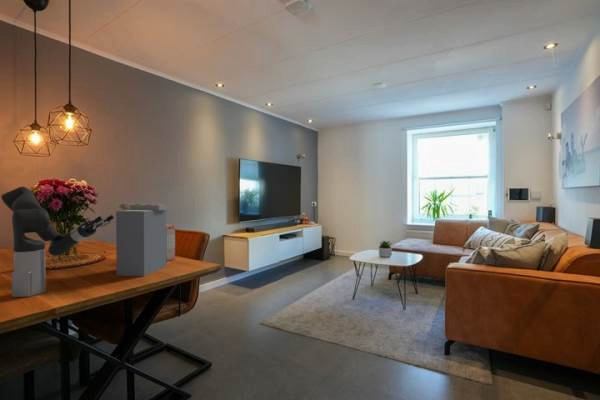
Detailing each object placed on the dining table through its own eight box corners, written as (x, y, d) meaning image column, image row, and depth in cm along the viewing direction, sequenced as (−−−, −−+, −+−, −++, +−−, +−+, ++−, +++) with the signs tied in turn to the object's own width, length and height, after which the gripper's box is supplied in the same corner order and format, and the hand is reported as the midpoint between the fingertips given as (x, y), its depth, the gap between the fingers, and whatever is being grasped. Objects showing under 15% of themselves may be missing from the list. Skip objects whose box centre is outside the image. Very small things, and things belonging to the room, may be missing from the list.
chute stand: (169, 266, 163) (168, 205, 162) (147, 276, 143) (147, 206, 142) (141, 265, 164) (141, 204, 164) (116, 275, 145) (116, 206, 144)
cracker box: (175, 259, 180) (175, 224, 179) (166, 261, 175) (166, 225, 174) (161, 256, 187) (161, 223, 187) (152, 258, 182) (152, 224, 182)
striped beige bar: (162, 209, 159) (162, 204, 159) (157, 210, 155) (157, 204, 155) (122, 209, 161) (122, 203, 161) (117, 209, 157) (117, 203, 157)
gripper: (68, 227, 154) (94, 211, 153) (90, 224, 168) (113, 210, 167) (75, 239, 154) (101, 224, 152) (96, 235, 168) (120, 221, 167)
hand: (107, 216), depth 160 cm, fingers open, 8 cm apart
